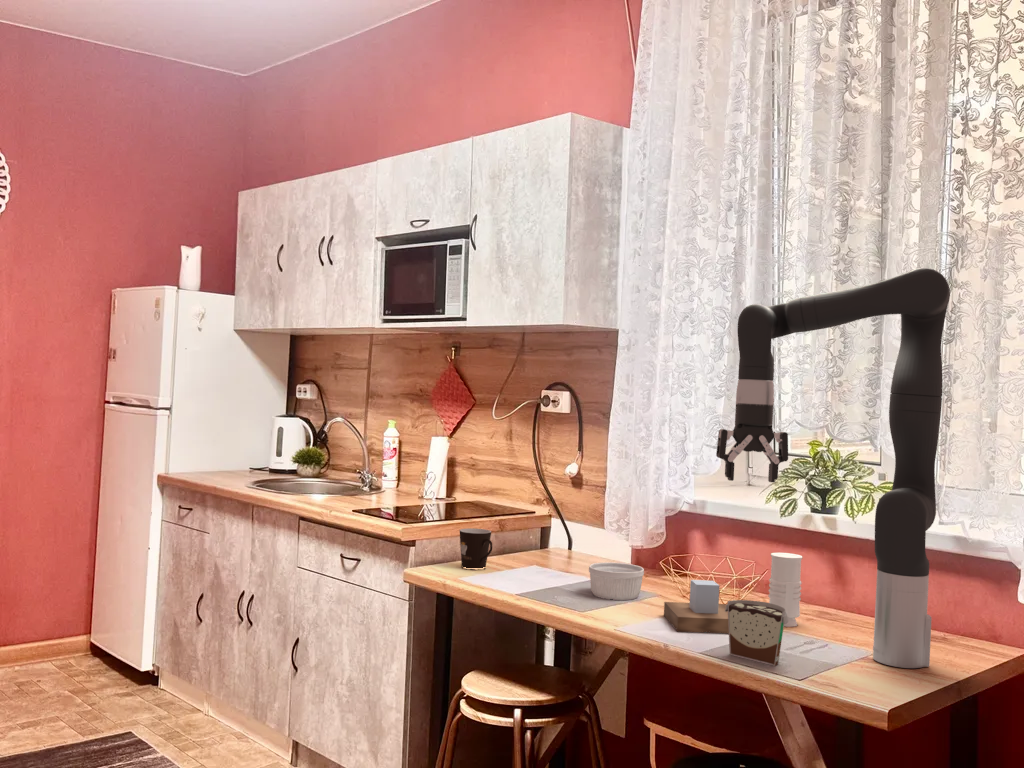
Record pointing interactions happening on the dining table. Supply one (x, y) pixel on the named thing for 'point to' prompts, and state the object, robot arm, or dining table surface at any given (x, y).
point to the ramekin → (616, 580)
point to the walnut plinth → (696, 618)
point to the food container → (755, 630)
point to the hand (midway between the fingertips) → (750, 481)
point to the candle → (786, 584)
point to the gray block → (704, 596)
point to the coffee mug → (475, 547)
